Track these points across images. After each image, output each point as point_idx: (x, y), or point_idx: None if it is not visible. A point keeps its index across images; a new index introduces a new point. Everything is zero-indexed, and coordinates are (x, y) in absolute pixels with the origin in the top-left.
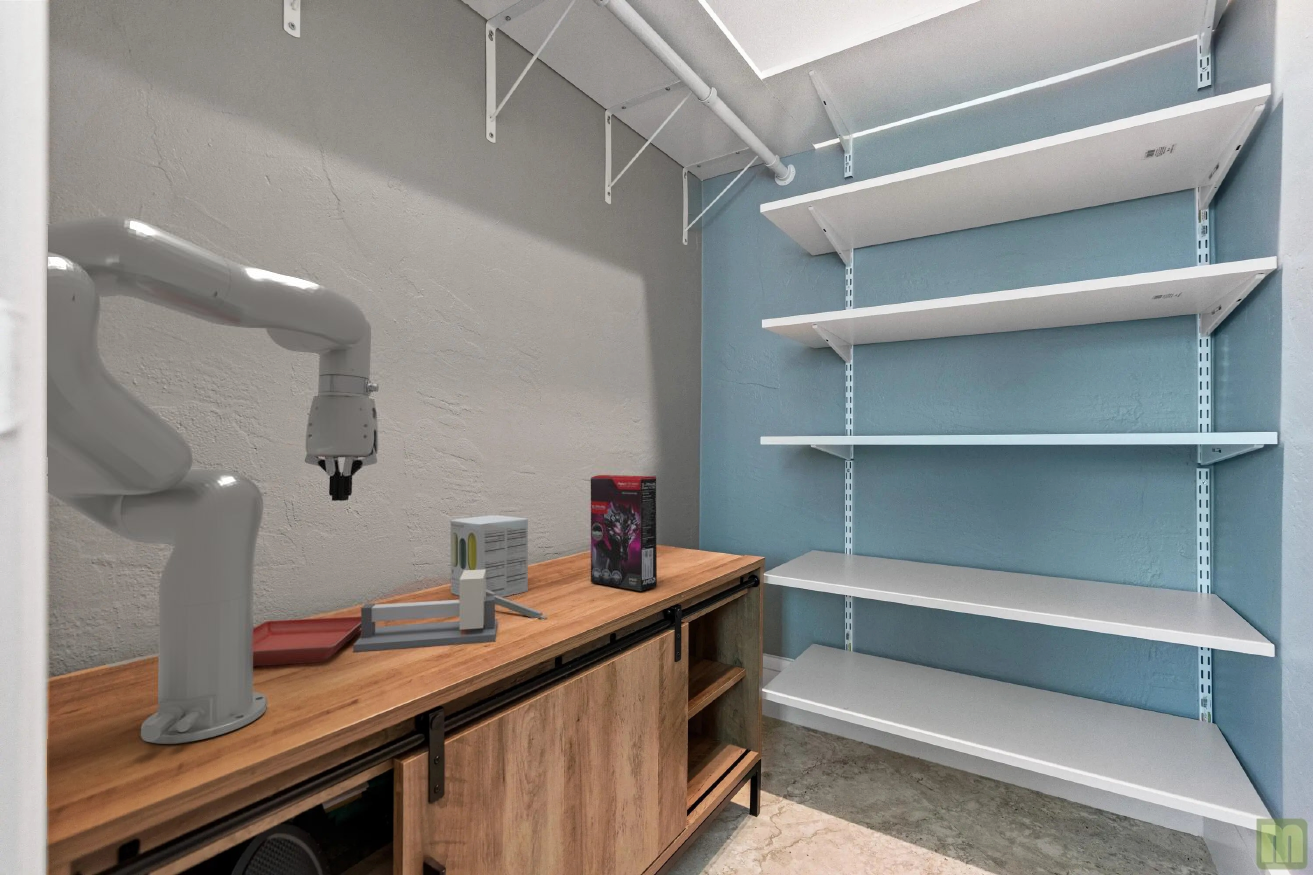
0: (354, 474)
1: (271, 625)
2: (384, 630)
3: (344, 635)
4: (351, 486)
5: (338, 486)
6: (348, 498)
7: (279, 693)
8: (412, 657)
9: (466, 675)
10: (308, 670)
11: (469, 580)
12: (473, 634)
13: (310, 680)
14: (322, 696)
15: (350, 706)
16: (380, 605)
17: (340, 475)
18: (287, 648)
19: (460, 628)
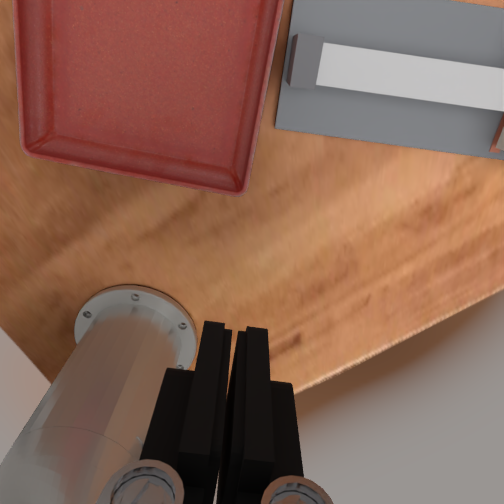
0: (325, 494)
1: None
2: (336, 32)
3: (256, 125)
4: (294, 427)
5: (218, 484)
6: (267, 330)
7: (195, 283)
8: (380, 200)
9: (445, 308)
10: (211, 202)
11: None
12: None
13: (225, 249)
14: (254, 311)
15: (293, 350)
16: (338, 60)
17: (202, 501)
18: (163, 179)
19: (498, 147)
